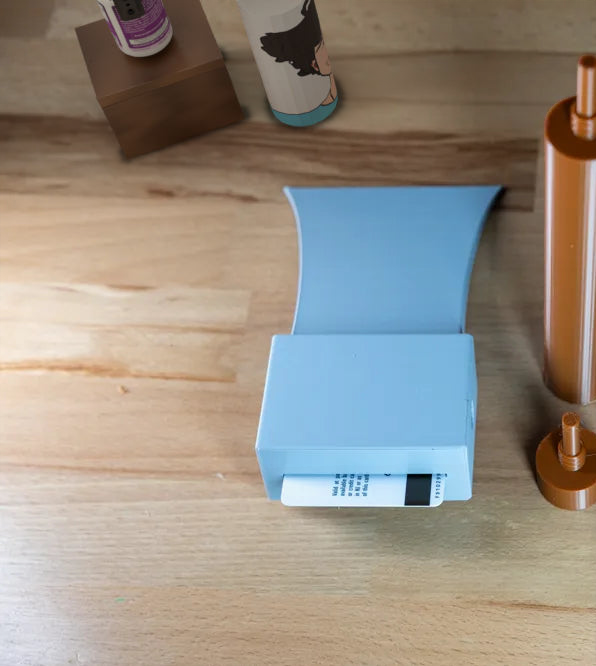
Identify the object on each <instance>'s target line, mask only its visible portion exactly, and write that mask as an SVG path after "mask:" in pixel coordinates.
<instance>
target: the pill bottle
mask: <svg viewBox="0 0 596 666" xmlns="http://www.w3.org/2000/svg"><path fill="white" fill-rule="evenodd" d="M95 2H96V3H97V5H98V7H99V9H100V12H101V14H102V16H103V19H104V18H105V20H106V22H107V24H108V27H109V29H110V31H111V33H112V35H113V37H114V39H115V41H116V43H117V45H118V47H119V48H120V49H121V50H122V51H123V52H124V53H126V54H128V55H130V56H135V57H144V56H150V55H153V54H155V53H157V52H159V51H161V50H162V49H163V48H164V47H165V46H166V45H167V44H168V43H169V41H170V40H171V37H172V26H171V24H170V21H169V18H168V16H167V14H166V11H165V8H164V6H163V3H162V0H141V2H142V5H143V7H144V10H145V14H144V16H142V17H139V18H136V19H133V20H130V21H122V20H121V18H120V16H119V14H118V12H117V9H116V7H115V5H114V3H113V0H111V1H109V0H95Z"/></svg>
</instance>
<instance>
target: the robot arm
mask: <svg viewBox="0 0 596 666" xmlns="http://www.w3.org/2000/svg"><path fill="white" fill-rule="evenodd" d="M109 1H111V0H109ZM113 3H114V5H115V7H116V9H117V12H118V14H119V16H120V18H121V20H122V21H130V20H133V19H136V18H139V17H142V16H144V14H145V10H144V7H143V5H142V2H141V0H113Z"/></svg>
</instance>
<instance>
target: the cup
mask: <svg viewBox="0 0 596 666" xmlns="http://www.w3.org/2000/svg"><path fill="white" fill-rule="evenodd" d="M235 1H236V4H237V7H238V12H239V14H240V17H241V20H242V23H243V26H244V29H245V33H246V35H247V38H248V43H249V45H250V48H251V51H252V54H253V56H254V60H255V63H256V66H257V69H258V72H259V75H260V78H261V81H262V85H263V89H264V91H265V94H266V97H267V101H268V103H269V107H270V109H271V112H272V113H273V115H274V117H275V118H276V119H278V120H279V121H280V122H281V123H283V124H286V125H288V126H291V127H307V126H313V125H316V124H317V123H320V122H322V121H324V120H325V119H327V117H329V116H331V114H332V113H333V111H334V110H335V109H336V107H337V103H338V100H339V98H338V90H337V86H336V83H335V79H334V78H335V77H334V74H333V70H332V66H331V62H330V58H329V54H328V51H327V46H326V43H325V39H324V35H323V31H322V27H321V22H320V18H319V13H318V10H317V6H316V2H315V0H235Z"/></svg>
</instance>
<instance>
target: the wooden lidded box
mask: <svg viewBox="0 0 596 666" xmlns="http://www.w3.org/2000/svg"><path fill="white" fill-rule="evenodd" d="M162 3H163V6H164V8H165V11H166V14H167V16H168V18H169V21H170V24H171V26H172V37H171V40H170V41H169V43H168V44H167V45H166V46H165V47H164V48H163V49H162V50H161V51H159V52H157V53H155V54H153V55H150V56H144V57H135V56H130V55H128V54H126V53H124V52H123V51H122V50H121V49H120V48H119V47H118V45H117V43H116V41H115V39H114V37H113V35H112V33H111V31H110V29H109V27H108V24H107V22H106V20H105V18H104V17H103V18H101V19H98V20H95V21H93V22H89V23H86V24H82V25H80V26H77V27H74V32H75V34H76V37H77V41H78V44H79V47H80V51H81V53H82V56H83V60H84V63H85V66H86V69H87V72H88V75H89V78H90V82H91V85H92V88H93V91H94V94H95V97H96V100H97V102H98V104H99V106H100V108H101V110H102V112H103V113H104V116H105V118H106V121H107V122H108V124H109V126H110V128H111V130H112V131H113V134H114V136H115V138H116V140H117V142H118V143H119V145H120V148H121V149H122V151H123V153H124V155H125V157H126V159H127V160H131V159H134V158H136V157H139V156H142V155H145V154H147V153H151V152H153V151H157V150H160V149H163V148H165V147H168V146H171V145H173V144H176V143H180V142H182V141H185V140H188V139H191V138H194V137H196V136H200V135H203V134H206V133H209V132H211V131H214V130H217V129H220V128H223V127H226V126H230V125H232V124H235V123H238V122H241V121H243V120H245V119H246V117H245V115H244V113H243V110H242V107H241V105H240V100H239V98H238V96H237V93H236V90H235V88H234V84H233V82H232V79H231V76H230V73H229V70H228V68H227V65H226V63H225V59H224V57H223V53H222V52H221V49H220V47H219V44H218V42H217V39H216V37H215V35H214V32H213V30H212V27H211V25H210V22H209V19H208V17H207V15H206V12H205V10H204V8H203V5H202V3H201V0H162Z"/></svg>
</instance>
